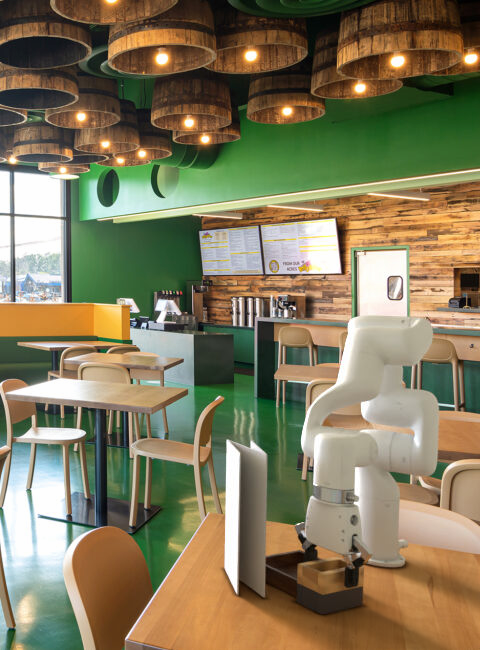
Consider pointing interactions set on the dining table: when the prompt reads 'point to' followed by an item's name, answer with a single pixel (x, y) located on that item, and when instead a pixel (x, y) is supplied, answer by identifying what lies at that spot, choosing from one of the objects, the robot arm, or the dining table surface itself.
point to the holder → (284, 570)
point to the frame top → (325, 575)
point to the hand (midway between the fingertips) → (330, 577)
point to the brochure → (246, 515)
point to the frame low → (329, 599)
